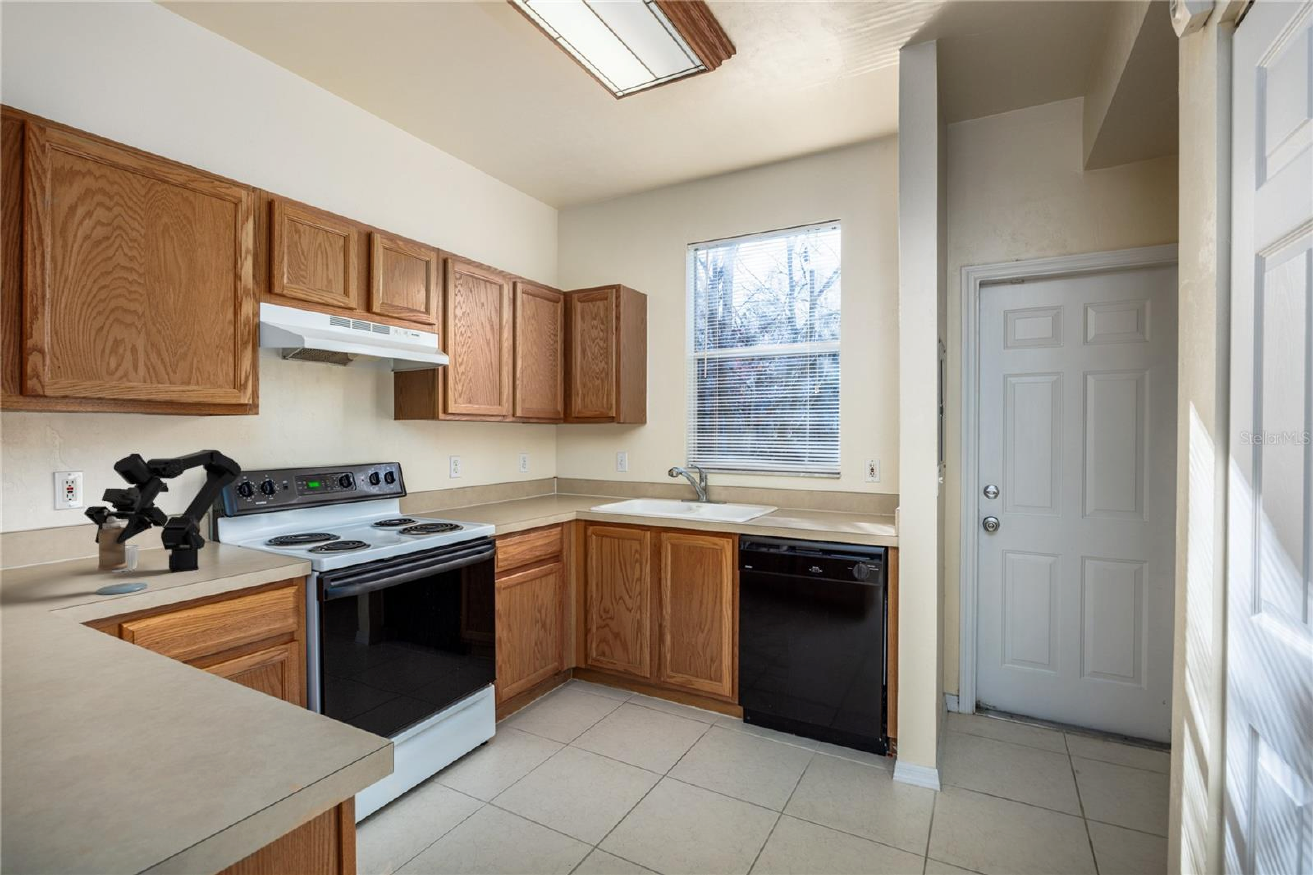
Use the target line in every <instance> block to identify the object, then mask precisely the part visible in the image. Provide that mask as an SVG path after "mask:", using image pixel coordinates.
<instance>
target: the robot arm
mask: <svg viewBox="0 0 1313 875" xmlns="http://www.w3.org/2000/svg"><path fill="white" fill-rule="evenodd" d="M200 466H203V467H202V469H203V470H205V476H206V481H205V483H204V484H203V485H202V487H201V489H200V490H199V491H198V493H197V494H196V496H195V497H194V498H193V500H192V501H191V503H189V505H188V506H187V508H186V510H185V511H184V512H183V514H182V515H180V516H170V518H169V519H168V515H167V514H166V513H165V512H164V511H163V510H162V509H160V507H159V506H155V505H156V504H155V503H154V500H155V499H156V498H157V497H158V495H159V494H160V493H168V492H169V487H168V484H167V483H168V482H164V481H163V479H165V480H166V479H167V480H169V479H170V480H172V479H175V478H177V477H179V476H181V475H183V474H184V472H185V471H186V470H191V469H193V468H197V467H200ZM113 470H114V471H115V472H116V473H117V474H118V475H119V476H120V477H121V478H122V479H123V480H124V481H125V482H126V483H127V484H129V485H132V486H133V485H134V486H133V487H132V486H131V487H130V486H129V487H127V488H105V490H104V493H103V496H102V499H101V501H102V502H108V503H109V504H112V505H111V507H112V508H113V509H116V511H115V510H110V509H109V508H108V507H107V506H106V505H104V506H103V505H102V506H101V505H99V506H98V505H92V506H88V507H87V509H86V510H85V511H84V512H83V514H84V515H85V516H86V517H87V518H88V519H89V520H90V521H92V522H93V523H94V524H95V525H96V526H97V531H96V537H95V540H94V541H95V543H96V544H98V545H99V529H103V523H107V518H108V517H110V516H114V517H116V519H117V520H120V521H127V524H126V525H125V528H124V530H123V531H122V533H121V534H120V536H119V537H118V539H117V541H116V542H117V543H118V544H121V543H122V542H124V541H125V542H126V541H128V540H129V539H131V538H133V537H135V536H137V535H139V534H140V533H142V532H144V531H145V532H146V531H147V530H150V529H152V528H153V527H158V528H159V527H162V531H161V532H160V539H161V542H162V544H163V549H164V550H165V551H168V550H170V551H171V552H170V553H169V554H168V569H169V570H170V572H171V573H174V572H183V571H194V570H199V568H200V567H199V550H201V549H202V548H204V547H205V543H206V539H205V538H203V536H201V534H200V533H201V525H200V523H201V521H202V520H203V518H204V517H205V515H206V514H207V513H208V511H209V510H210V507H211V506H212V505H213V504H214V502H215V501H216V499H217V498H218V496H219V495H220V494H221V492H222V491H223V489H224V488H225V487H227V486H229V485H231V484H233V483H235V481H236V480H237V479H238V478H239V477H240V475H241V472H242V468H241V466H240V465H239V463H238V462H236V461H235V460H234V459H233V458H231V457H230V456H229V457H228V456H227V455H225V454H223V453H222V452H221V451H219V450H217V449H202V450H200V451H197V452H193V453H192V452H191V453H188V454H185V455H181V456H177V457H172V458H171V457H169V458H167V457H166V458H150V459H148V460H147V461H145V459H143V457H142V456H141V455H140V453H130V454H129V455H128V456H126V457H123V458H121V459H119V460H117V461H116V462H115V463H114V464H113Z"/></svg>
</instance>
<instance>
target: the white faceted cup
mask: <svg viewBox="0 0 1313 875" xmlns="http://www.w3.org/2000/svg"><path fill="white" fill-rule="evenodd" d="M139 548H140V546H139V545H138V544H137V545H136V544H125V558H126V562H127V567H126V568H124V569H120V570H114V571H110V572H111V573H123V572H122V571H125V572H129V571H128V570H131V571H133V570H132V569H135V568H136V569H137V563H138V554H139ZM136 569H135V570H136Z"/></svg>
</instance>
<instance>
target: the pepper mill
mask: <svg viewBox="0 0 1313 875" xmlns="http://www.w3.org/2000/svg"><path fill="white" fill-rule="evenodd" d="M125 527H126V526H125ZM125 527H123V526H122V522H121V521H118V519H116V517H114V516H110V517H108V518H107V523H103V529H99V544H98V565H97V571H98V572H111V571H114V570H120V569H124V568H126V567H127V562H126V558H125V545H126V541H124V542H122V543H121V544H118V543H117V542H116V541H117V539H118V537H119V536H120V534H121V533H122V531H123V530H124V528H125Z"/></svg>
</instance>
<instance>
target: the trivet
mask: <svg viewBox="0 0 1313 875" xmlns="http://www.w3.org/2000/svg"><path fill="white" fill-rule="evenodd" d="M146 588H148V583H146V582H127V583H117V584H112V585H108V586H107V585H106V586H103V587H100V588H99V589H96V590H97V591H96V593H97V595H101V596H102V595H103V596H104V595H105V596H107V595H108V596H109V595H111V596H112V595H121V594H122V595H123V594H129V593H130V594H131V593H134V592H139V591H142V590H145V589H146Z"/></svg>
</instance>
